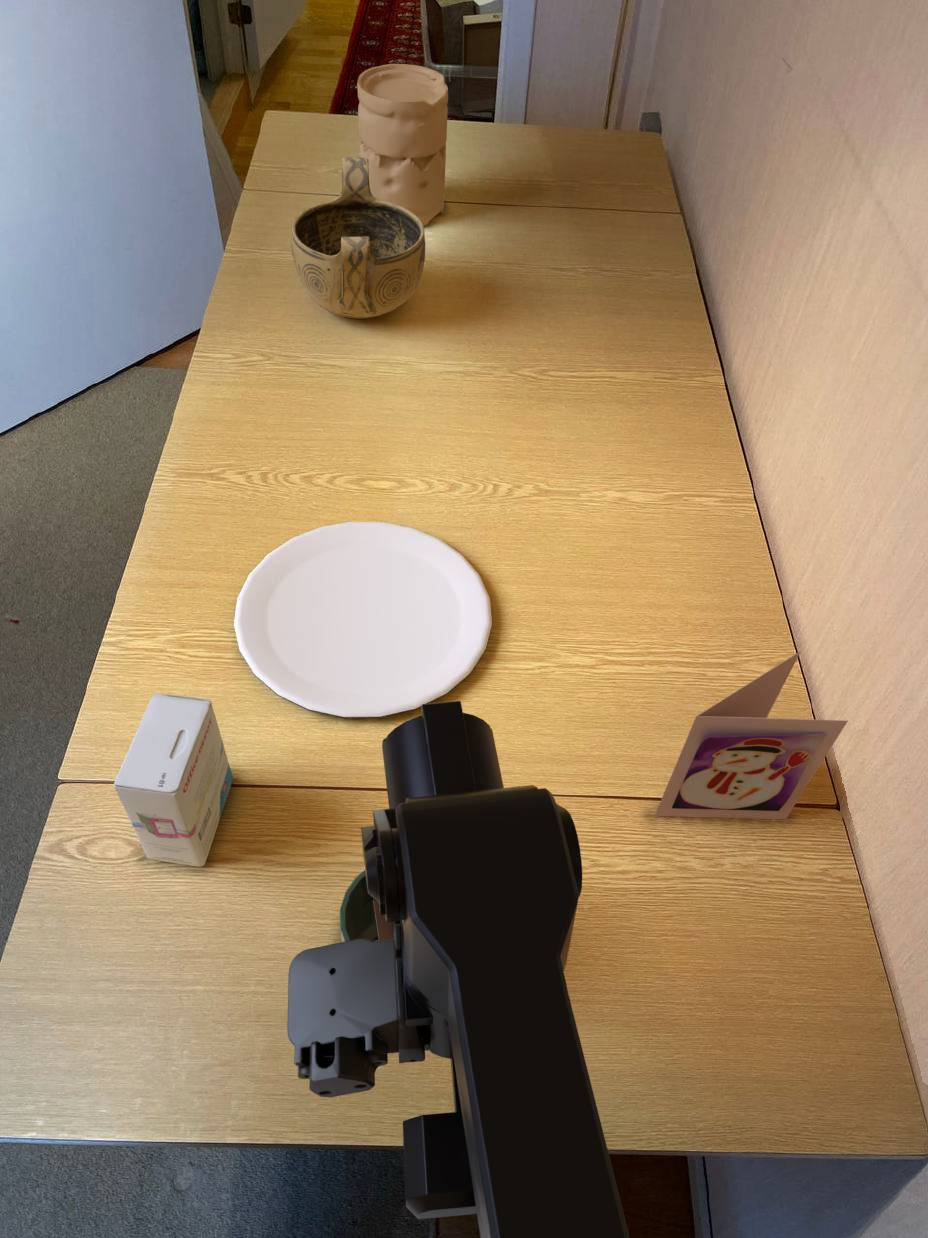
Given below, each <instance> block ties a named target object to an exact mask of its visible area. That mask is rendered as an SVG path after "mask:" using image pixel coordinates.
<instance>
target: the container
mask: <svg viewBox="0 0 928 1238" xmlns="http://www.w3.org/2000/svg"><path fill="white" fill-rule="evenodd" d="M356 85H357V86H356V87H357V98H358V101H359V103H358V107H357V117H358V119H357V120H358V121H357V122H358V136H359V139H360V144H359V149H358V155H359V156H358V157H361V158H367V159H368V160H369V185H370V191H371V194H372V195H373V196H374V197H375V198H376V199H378V200H382V201H387V202H391V203H394V204H396V205H399V206H402V207H404V208H405V209H407V210H409V211H411V212H412V213H413V214H415V215H416V216H417V217H418V218H419V219H420V220H421V222H422V224H423V226H424V227H425V226H427V225H429V222H430V221H432V220H433V218H435V216H438V214H443V213H444V210H445V209H444V208H445V198H444V195H445V189H446V188H445V186H446V162H447V161H446V160H447V139H448V113H449V109H448V108H449V107H448V102H449V89H448V85H447V84H446V82H445V78H444V75H443V74H442V73H440V72H439V71H437V70H435V69H431V68H429V67H425V66H422V65H417V64H407V63H389V64H387V63H386V64H383V65H379V66H372V67H370V68H367V69H365V71H362V72H361V73H360V74H359V75H358V78H357V83H356Z"/></svg>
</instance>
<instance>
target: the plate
mask: <svg viewBox="0 0 928 1238" xmlns="http://www.w3.org/2000/svg"><path fill="white" fill-rule="evenodd" d="M492 618H493V617H492V605H491V598H490V596H489V593H488V591H487V588H486V586H485V584H484V582H483V580H482V577H481V575H480V573H478V572H477V570H476V569H475V568H474V567H473V566H472V564H471V563H470V562H469V560H467V558H466V557H464V555H463V554H462V553H460V552H459V551H458V550H456V549H454V548H453V547H452V546H451V545H449V544H447V543H446V542H444V541H443V540H442V539H440V538H437V537H436V536H433V535H431V534H428V533H426V532H423V531H421V530H419V529H416V528H414V527H410V526H405V525H399V524H395V523H389V522H384V521H347V522H341V523H336V524H331V525H326V526H320V527H317V528H315V529H312V530H309V531H307V532H304V533H302V534H300V535H296V536H294V537H292V538H290V539H289V540H287V541H285V542H284V543H283V544H282V545H280V546H278V547H277V548H275V549H274V550H272V551H270V552H269V553H268V554H266V556H264V558H262V560H261V561H260V562H259V563H258V564H257V566H256V567H255V568H254V569H253V570H252V571H251V572H250V573H249V574H248V576H247V578H246V580H245V583H244V584H243V586H242V588H241V590H240V593H239V594H238V596H237V598H236V605H235V612H234V620H233V627H234V631H235V636H236V640H237V645H238V650H239V653H240V654H241V656H242V657H243V659H244V660H245V662H246V664H247V665H248V667H249V669H250V670H251V672H252V673H253V675H254V676H255V677H256V678H257V679H258V680H260V682H261V683H263V685H265V686H266V687H267V688H269V689H270V690H271V691H272V692H273V693H274V694H275V695H277V696H278V697H280V698H282V699H284V700H286V701H288V702H290V703H293V704H294V705H296V706H298V707H301V708H303V709H305V710H307V711H310V712H315V713H320V714H323V715H328V716H333V717H337V718H342V719H375V718H376V719H377V718H379V719H380V718H381V719H382V718H385V717H389V716H394V715H399V714H403V713H406V712H410V711H415V710H417V709H420V708H422V704H428V703H433V702H434V701H436V700H438V699H440V698H442V697H444V696H446V695H447V694H449V693H450V692H451V691H452V690H453V689H454V688H456V687H457V686H458V685H459V684H460V683H461V682H463V681H464V680H466V678H467V677H468V676H470V675H471V673H472V672H473V670H474V668H476V665H477V664H478V662H479V661H480V659H481V658H482V656H483V655H484V653H485V651H486V649H487V646H488V641H489V637H490V633H491V629H492V626H493V619H492Z"/></svg>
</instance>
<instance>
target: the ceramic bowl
mask: <svg viewBox="0 0 928 1238" xmlns="http://www.w3.org/2000/svg"><path fill="white" fill-rule="evenodd" d="M291 255H292V260H293V266H294V269H295V272H296V276H297V278H298V281H299V282H300V284H301V287H302V289H303V290H304V291H305V292H306V294H307V295H308V297H309V298H310V299H311V300H312V301H313V302H314V303H316V305H318V306H319V307H320V308H322V309H324V310H325V311H327V312H329V313H330V314H334V315H336V316H339V317H343V318H347V319H360V320H361V319H370V318H376V317H379V316H383V315H385V314H388V313H390V312H392V311H395V310H396V309H397V308H399V307H401V306H402V305H403V304H404V303H406V302H407V301H408V300H409V299H410V298H411V296H412V295H413V294H414V293H415V291H416V289H417V287H418V285H419V284H420V281H421V279H422V275H423V271H424V267H425V259H426V236H425V226H423V224H422V222H421V220H420V219H419V218H418V217H417V216H416V215H415V214H413V213H412V212H411V211H409V210H407V209H405V208H404V207H402V206H399V205H396V204H394V203H391V202H387V201H382V200H378V199H376V198H375V197H374V196H373V195H372V194H371V191H370V185H369V160H368V159H367V158H361V157H359V156H357V157H355V156H353V157H352V156H351V157H350V156H349V157H347V156H346V157H342V158H341V192H340V195H338V196H337V197H335V198H333V199H330V200H326V201H325V200H324V201H321V202H319V203H316V204H314V205H312V206H311V205H310V206H309V207H307V208H305V209H303V210H302V211H301V212H299V213H298V214H297V215H296V216H295V218H294V220H293V222H292V224H291Z"/></svg>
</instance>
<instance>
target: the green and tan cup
mask: <svg viewBox="0 0 928 1238" xmlns="http://www.w3.org/2000/svg"><path fill="white" fill-rule="evenodd" d="M373 900H376V899H374V898H373V897H372V896H371V895H370V894H368V889H367V881H366V873H365V869H364V870H363V871H361V873H359V874H358V875H357V876H356V877H355V878H354V880H353V881H352V882H351V884H350V885H349V886H348V888H347V889H346V891H345V893H344V896H343V899H342V902H341V906H340V907H339V929H340V930H339V931H340V939H341V942H345V941H350V940H355V939H361V938H362V939H368V940H370V941H372V942H374V941H375V940H378V936H377V930H376V923H375V916H374V909H373Z"/></svg>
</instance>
